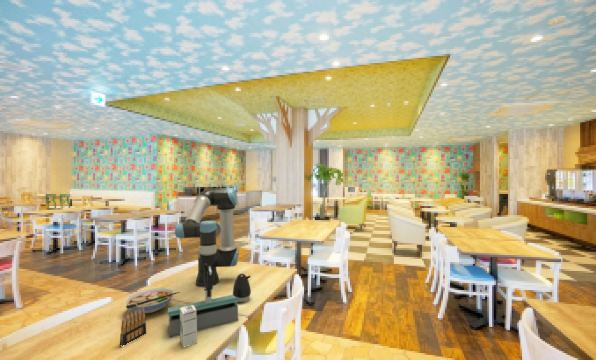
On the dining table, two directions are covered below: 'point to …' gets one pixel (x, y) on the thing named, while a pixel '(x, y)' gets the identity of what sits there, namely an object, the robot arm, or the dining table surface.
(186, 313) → the syrup box
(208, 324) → the gray open box
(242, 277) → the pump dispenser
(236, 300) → the cover
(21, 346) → the dining table surface
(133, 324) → the ammunition clip
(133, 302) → the ramen bowl
